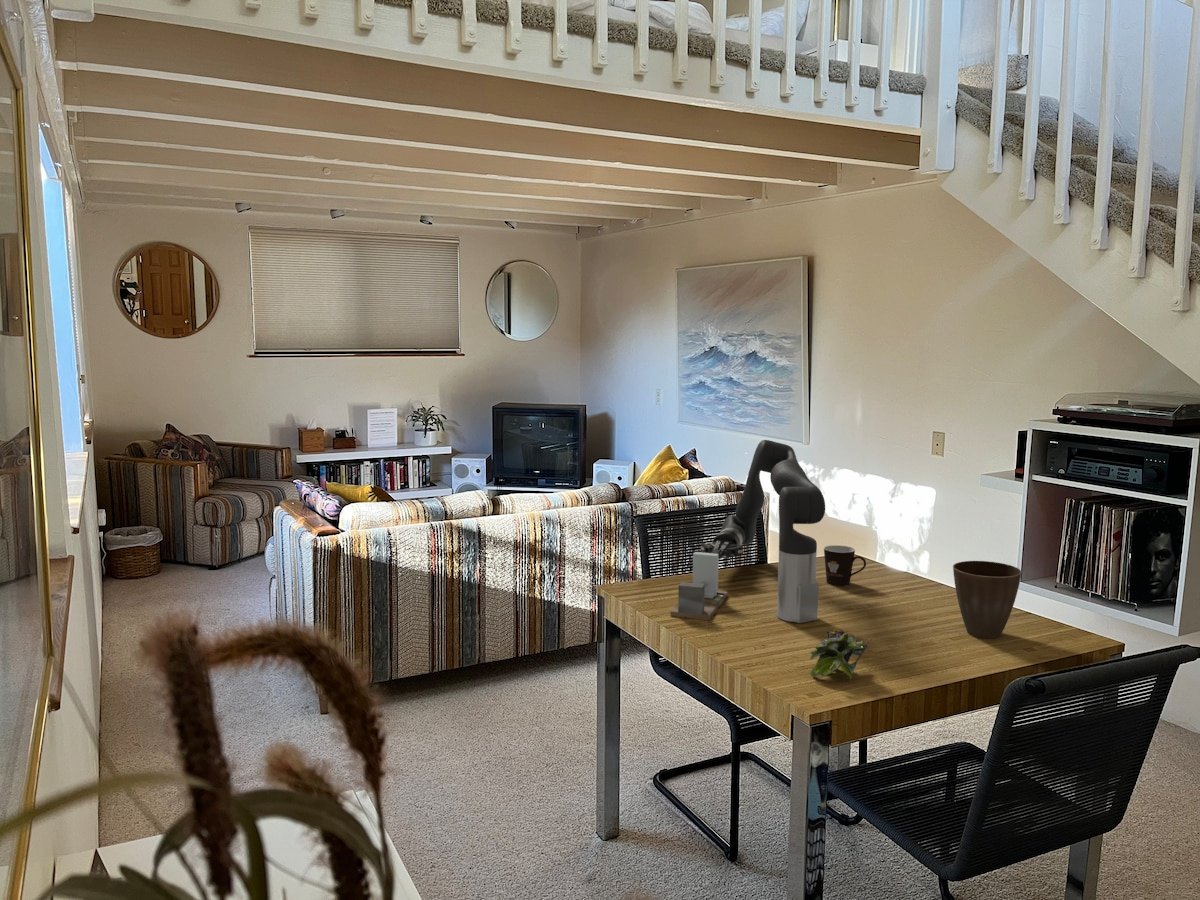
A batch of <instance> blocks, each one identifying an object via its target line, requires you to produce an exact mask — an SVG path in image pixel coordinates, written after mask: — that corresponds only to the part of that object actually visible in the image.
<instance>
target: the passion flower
mask: <svg viewBox="0 0 1200 900" xmlns="http://www.w3.org/2000/svg"><path fill="white" fill-rule="evenodd" d="M826 638H827V639H826ZM826 638H824V640H823V641H821V640H820V643H821V644H820V643H817V645H816V646H814V648H815V650H810V651H809V653H810V654H811V656H810V661H812V659H814V658H817V657H818V658H817V661H816V664H815V665H814V667H812V669H811V671H810V673H811V677H812V679H813V678H814V677H817V676H819V675H820V676H822V677H826V676H828V675H830V674H832V673H833V672H835V671H836V670H837V669H839V668H841V671H842V672H843V673H845V674H846V675H847V676H849V678H848V679H849V680H848V683H851V679H852V677H853V672H854V670H855V668H856V666H857V663H858V662H859V660H860V658H861V657H862V656H863V654H864V653H865V651H867V649H868V647H869V645H868V641H866V642H865V640H861V641H858V637H856V636H855V635H850V634H849V633H848V632H846V633H845V631H844V630H838V629H833V631H831V630H827V631H826ZM852 655H854V656H858V657H857V658H856V660H855V661H854V662H853V663H849V661H850V658H851V657H852Z"/></svg>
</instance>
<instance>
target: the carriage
mask: <svg viewBox="0 0 1200 900" xmlns="http://www.w3.org/2000/svg"><path fill="white" fill-rule="evenodd" d="M719 560H720V559H719V554H714V553H703V552H701V551H694V552H693V554H692V583H696V584H705V598H712V599H713V597H714V596H717V595H724V596H725V593H718V591H719V562H720V561H719Z"/></svg>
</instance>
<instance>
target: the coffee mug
mask: <svg viewBox="0 0 1200 900" xmlns="http://www.w3.org/2000/svg"><path fill="white" fill-rule="evenodd" d="M855 552H856V549H855V548H854V547H851V546H847V545H841V544H840V545H838V544H834V545H831V544H830V545H826V546H824V547H823V554H824V567H825V577H826V578H825V580H826V583H827V584H828V585H830V584H831V586H834V585H836V587H847V586H849V585H850V584H851V577H852V576H853V575H856V574H858V573H860V572H862V571H863V570H865V568H866V566H867V562H866V559H865V558H864V557H863V556H860V555H856V556H855ZM856 559H861V561H862V562H863V566H862V567H861V568H860V569H858V570H856V571H854V572H852V571H853V565H854V562H855V560H856ZM845 585H846V586H845Z"/></svg>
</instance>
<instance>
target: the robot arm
mask: <svg viewBox="0 0 1200 900" xmlns="http://www.w3.org/2000/svg"><path fill="white" fill-rule="evenodd" d="M748 470H749V471H748V475H747V478H746V482H745V486H744V489H743V492H742V495H741V497H740V499H739V501H738V504H737V505H736V507H735V512H734V513H735V515H729V516H728V517H726V518H725V519H724V521H723V523H722V525H721V531H720V532H718V533H717V535H716V536H715V537H714V538H713V540H712V542H709V543H705V542H701V543H700V552H702V553H714V554H719V560H720V559H722V558H723V559H729V558H735V557H741V556H744V546H748V545H750V544H751V543H752V542H753V541H754V539H755V537H756V532H757V521H758V518H759V515H760V513H761V510H762V509H763V506H764V503H765V493H764V488H763V486H762V482H761V478H760V475H761V472H765V473H769V474H770V483H771V485H772V487H773V489H774V491H775V492H776V494H777V495H778V518H779V520H778V524H779V525H778V526H779V527H778V528H779V531H778V533H779V534H778V565H777V566H778V567H777V568H778V569H777V574H778V575H777V597H776V598H777V601H776V602H777V603H776V604H777V605H776V606H777V609H776V617H778V619H780V620H783V621H785V622H790V623H791V622H792V623H796V624H802V623H809V622H811V621H817V620H818V612H819V611H818V608H819V607H818V605H819V604H818V603H819V583H818V581H816V577H817V575H816V574H817V553H818V552H817V550H818V549H817V548H818V545H817V541H816V540H815V538H813V537H812V536H808V535H805V534H803V533H801V532H799V531H797V530H796V529H795V528H794V525H813V524H817V523H820V522H821V521H822V520H823V518H824V516H825V513H826V501H825V498H824V495H823V493H822V491H821V490H820V488H819V487H818V486H816V485H815V484H814V483H813V482H812V481H811V480H810V479H809V477H808V476H807V473H806V472H805V471H804V469H803V468H802V466H801V465H800V464H799V462H798V460H797V455H796V453H795V451H794V449H793V447H792V446H790V445H788V444H786V443H781V442H776V441H773V440H770V439H762V440H761V441H759V443H758V444H757V446H756V449H755V451H754V453H753V457H752V460H751V465H750V468H749V469H748Z"/></svg>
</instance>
